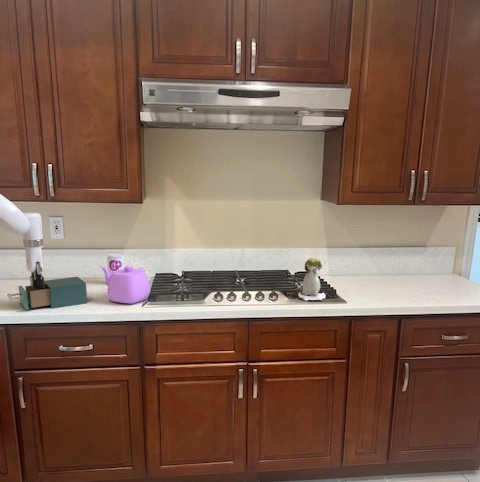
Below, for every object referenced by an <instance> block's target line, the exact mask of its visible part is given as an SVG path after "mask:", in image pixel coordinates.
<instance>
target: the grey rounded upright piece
mask: <svg viewBox="0 0 480 482" xmlns="http://www.w3.org/2000/svg"><path fill="white" fill-rule="evenodd" d="M322 268H323V264H322V261H321V260H320V259H319V258H317V257H310V258H308V259H306V261H305V263H304V270H305V272H306V274H305V275H304V278H303V281H302V290H303V291H302V290H301V291H302V293H303V294H305V295H306V296H305V295H302V294H301V293H300V292H301V291H299V292H298V293H297V294H298V297H299V299H302V300H304V301H306V302H309V301H323V299H326V297H327V294H325V292H322V293H320V289H321V287H322V286H321V285H322V284H321V283H320V278H319V275H318V273H317V272H320V270H321V269H322ZM318 292H319V293H318ZM307 295H311V296H307Z"/></svg>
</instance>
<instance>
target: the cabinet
mask: <svg viewBox="0 0 480 482" xmlns="http://www.w3.org/2000/svg"><path fill="white" fill-rule="evenodd" d="M44 284H45V285H46V286H47V287H48V288H49V289H50V298H51V305H48V306H49V307H50V308H51V309H58V308H65V307H72V306H77V305H85V304H88V293H87V292H88V291H87V282H86V281H85V280H83V279H82V278H80V277H78V276H72V277H71V276H70V277H64V278H63V277H62V278H55V279H46V280H45V279H44Z"/></svg>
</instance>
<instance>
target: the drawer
mask: <svg viewBox="0 0 480 482" xmlns="http://www.w3.org/2000/svg"><path fill="white" fill-rule="evenodd" d="M24 287H25V288H24ZM24 287H23V286H22V285H18V286H17V288H18V293H7V294H6V296H7V298H8V299H9V300H10V302H13V301H15V300H19V303H20V304H21V306H22V308H23V309H24V310H25V311H27V310H28V311H29V306H30V307H31V309H32V308H40V307H46V306H49V305H51V298H50V289H49V288H48V287H47V286H46V285H45V288H41V289H32V288H31V285H25V286H24ZM13 296H14V297H13ZM15 296H18V297H15Z"/></svg>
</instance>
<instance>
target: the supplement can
mask: <svg viewBox="0 0 480 482" xmlns="http://www.w3.org/2000/svg"><path fill="white" fill-rule="evenodd" d="M106 261H107V262H106V263H107V269H108V270H109V272H110V274H111V275H112V273H113V272H115V271H118V270H121V269H124V267H125V266H126V257H125V256H124V254H123V253H109V254H108V255H107V258H106Z"/></svg>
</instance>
